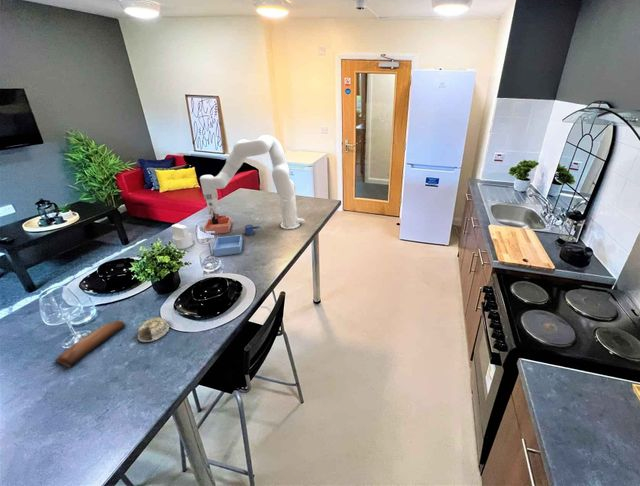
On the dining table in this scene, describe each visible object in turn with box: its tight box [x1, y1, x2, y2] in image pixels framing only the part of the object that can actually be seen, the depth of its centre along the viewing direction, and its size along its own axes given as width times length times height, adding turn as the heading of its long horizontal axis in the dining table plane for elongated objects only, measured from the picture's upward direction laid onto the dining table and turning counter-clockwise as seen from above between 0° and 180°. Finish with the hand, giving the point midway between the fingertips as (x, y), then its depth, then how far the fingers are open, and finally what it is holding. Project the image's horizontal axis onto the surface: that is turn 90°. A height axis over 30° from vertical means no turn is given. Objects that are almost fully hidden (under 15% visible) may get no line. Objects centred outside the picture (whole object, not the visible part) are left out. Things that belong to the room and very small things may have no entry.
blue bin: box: [212, 234, 244, 257], centre depth 162 cm, size 13×13×4 cm
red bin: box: [203, 216, 232, 235], centre depth 183 cm, size 13×13×4 cm
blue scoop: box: [244, 224, 261, 236], centre depth 179 cm, size 9×5×5 cm, turn 107°
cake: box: [136, 317, 171, 343], centre depth 108 cm, size 10×10×5 cm
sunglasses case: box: [55, 320, 126, 368], centre depth 103 cm, size 18×7×7 cm
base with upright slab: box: [171, 223, 194, 250], centre depth 163 cm, size 9×9×12 cm
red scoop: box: [210, 213, 227, 223], centre depth 181 cm, size 9×5×5 cm, turn 107°
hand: (216, 221), depth 181 cm, fingers closed on red scoop, 4 cm apart
